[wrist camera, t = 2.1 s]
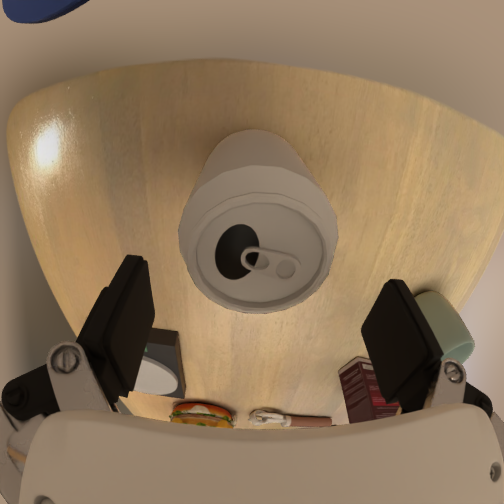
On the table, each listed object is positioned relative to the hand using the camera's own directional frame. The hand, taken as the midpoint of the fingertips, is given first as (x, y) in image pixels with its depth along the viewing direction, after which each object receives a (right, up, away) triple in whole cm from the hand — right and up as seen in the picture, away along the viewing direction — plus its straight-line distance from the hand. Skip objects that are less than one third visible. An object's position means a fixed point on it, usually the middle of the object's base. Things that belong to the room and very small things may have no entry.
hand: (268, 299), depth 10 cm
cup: (+22, -5, +21) cm, 30 cm away
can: (0, +8, +11) cm, 14 cm away
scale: (-17, -14, +26) cm, 34 cm away
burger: (-10, -30, +37) cm, 49 cm away
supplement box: (+18, -17, +29) cm, 38 cm away
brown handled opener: (+8, -33, +40) cm, 52 cm away
